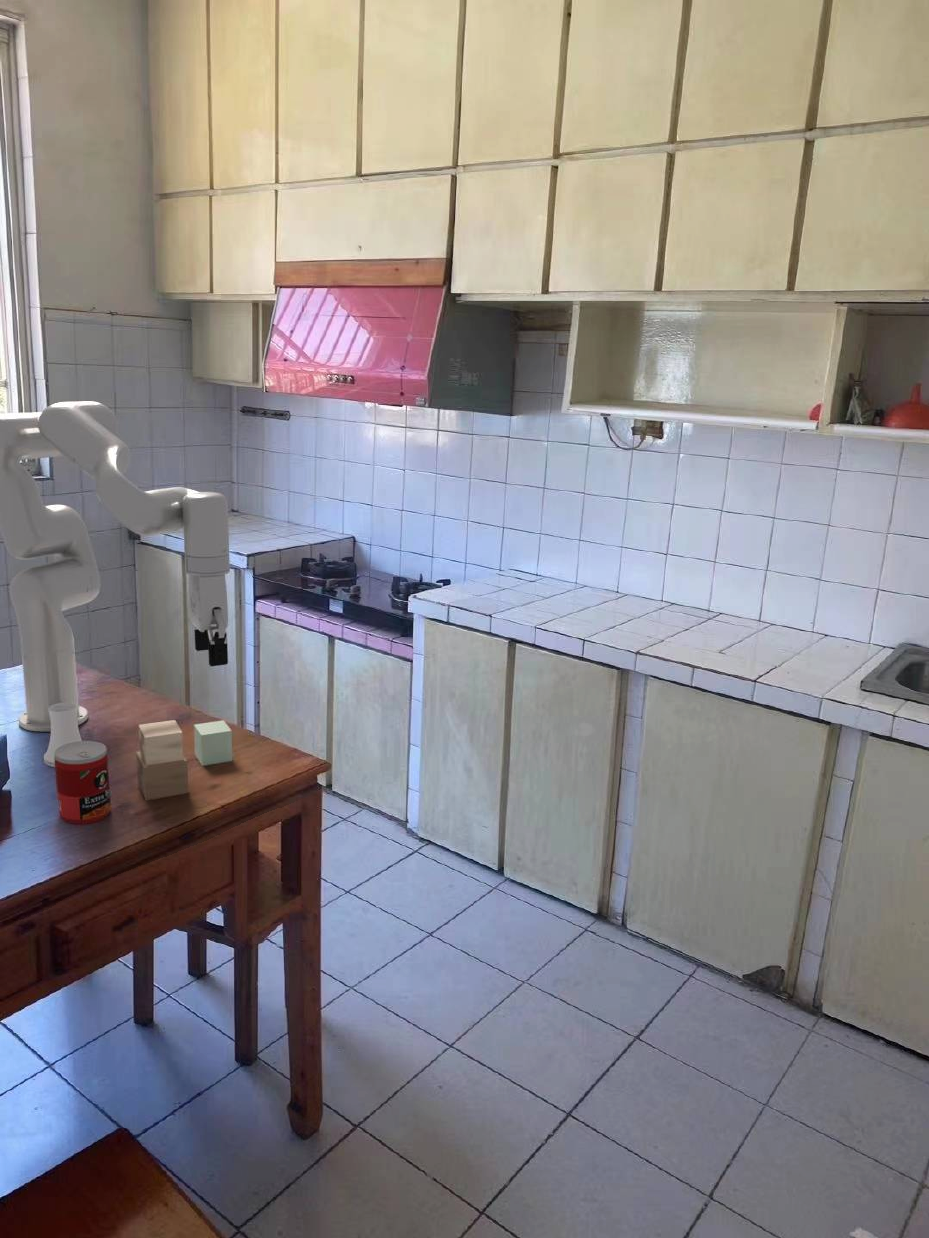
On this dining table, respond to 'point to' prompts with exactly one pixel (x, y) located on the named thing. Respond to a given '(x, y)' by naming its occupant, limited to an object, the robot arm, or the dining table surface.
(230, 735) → the sage block
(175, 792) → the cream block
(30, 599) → the robot arm
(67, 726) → the vase
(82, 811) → the canned food
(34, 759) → the dining table surface
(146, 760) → the beech block
